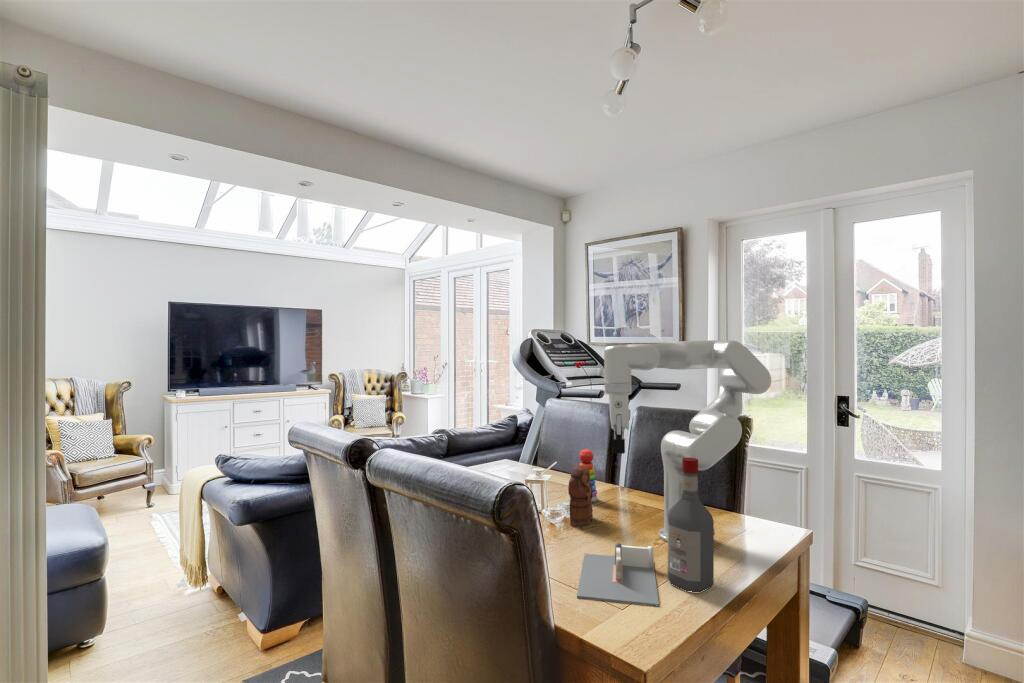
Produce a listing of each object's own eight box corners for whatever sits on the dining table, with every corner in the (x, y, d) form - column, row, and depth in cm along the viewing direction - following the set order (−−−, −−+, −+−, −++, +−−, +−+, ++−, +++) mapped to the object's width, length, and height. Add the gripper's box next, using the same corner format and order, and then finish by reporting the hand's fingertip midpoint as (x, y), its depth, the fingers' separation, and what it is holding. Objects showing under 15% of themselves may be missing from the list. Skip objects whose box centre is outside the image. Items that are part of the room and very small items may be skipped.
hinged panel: (615, 564, 133) (615, 546, 133) (620, 565, 133) (620, 546, 133) (615, 581, 124) (615, 561, 124) (621, 581, 124) (621, 561, 124)
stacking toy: (572, 497, 194) (572, 447, 194) (592, 496, 196) (592, 446, 196) (580, 504, 186) (580, 451, 186) (600, 502, 188) (601, 450, 188)
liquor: (695, 596, 119) (695, 465, 119) (662, 581, 126) (662, 458, 126) (718, 585, 124) (718, 460, 124) (685, 571, 131) (685, 453, 131)
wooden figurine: (586, 528, 162) (586, 470, 162) (566, 525, 164) (566, 469, 164) (595, 516, 173) (595, 462, 173) (576, 514, 175) (576, 461, 175)
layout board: (652, 561, 137) (652, 539, 137) (658, 606, 114) (658, 580, 114) (584, 555, 141) (584, 534, 141) (576, 597, 118) (576, 572, 118)
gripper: (632, 391, 140) (633, 459, 140) (630, 386, 154) (631, 447, 154) (604, 391, 141) (605, 458, 141) (605, 386, 156) (606, 447, 156)
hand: (619, 452), depth 148 cm, fingers closed
